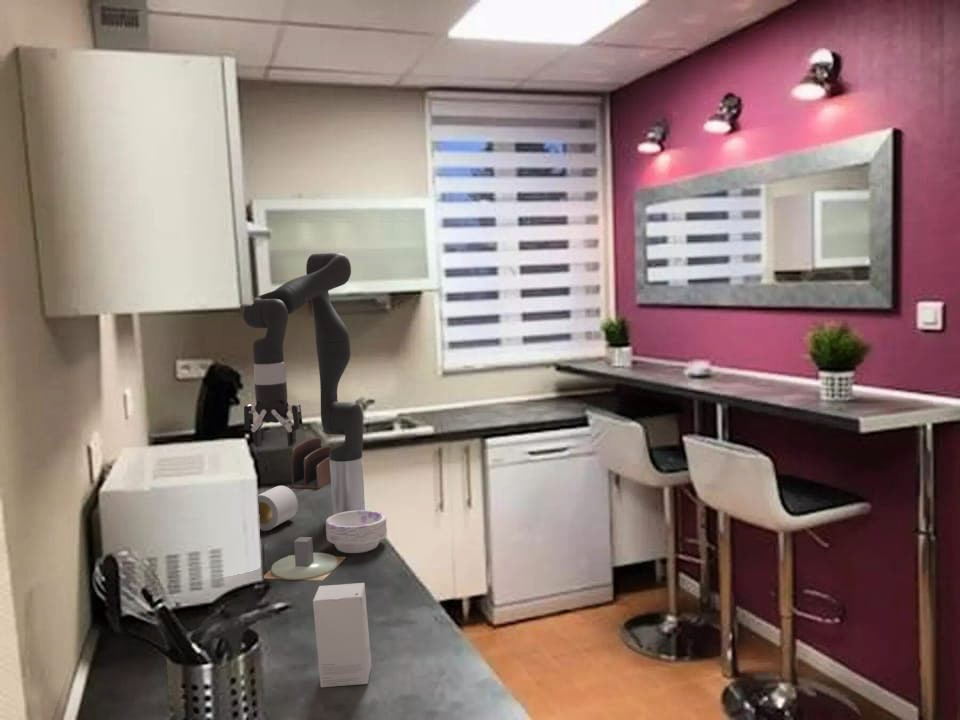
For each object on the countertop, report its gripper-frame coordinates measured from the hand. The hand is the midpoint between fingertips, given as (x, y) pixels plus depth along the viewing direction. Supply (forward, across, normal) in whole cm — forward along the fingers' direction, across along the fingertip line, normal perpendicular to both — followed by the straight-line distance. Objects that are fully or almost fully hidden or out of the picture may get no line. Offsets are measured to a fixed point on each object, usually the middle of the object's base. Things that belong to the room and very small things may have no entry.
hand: (274, 446), depth 193 cm
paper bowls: (+28, -17, -7) cm, 34 cm away
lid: (+27, -10, +9) cm, 30 cm away
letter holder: (+29, +19, -70) cm, 78 cm away
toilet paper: (+28, +13, -23) cm, 39 cm away
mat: (+28, -10, +9) cm, 31 cm away
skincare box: (+27, -37, +56) cm, 73 cm away
